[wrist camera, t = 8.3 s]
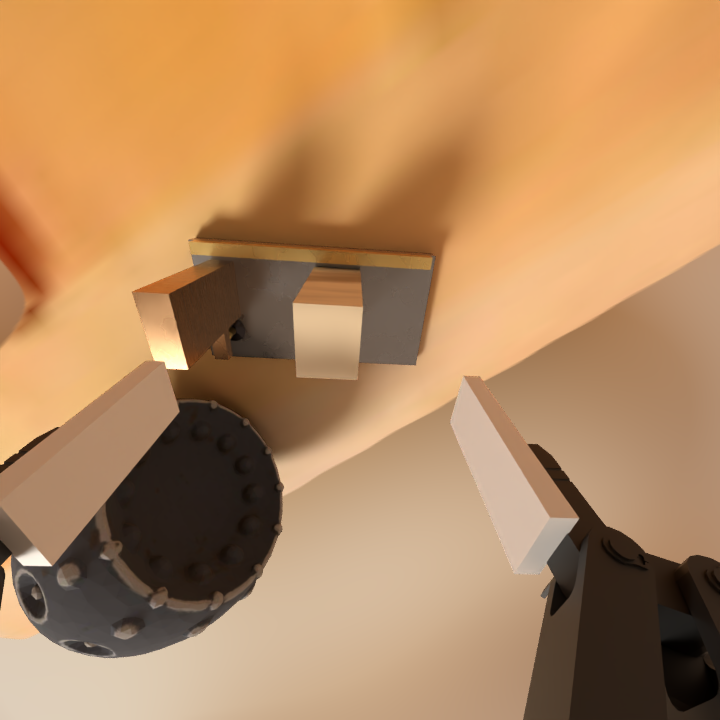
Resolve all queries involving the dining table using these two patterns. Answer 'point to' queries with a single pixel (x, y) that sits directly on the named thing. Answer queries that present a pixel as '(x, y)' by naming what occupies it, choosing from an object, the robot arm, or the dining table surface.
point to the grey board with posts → (278, 301)
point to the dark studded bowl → (164, 542)
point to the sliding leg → (328, 324)
